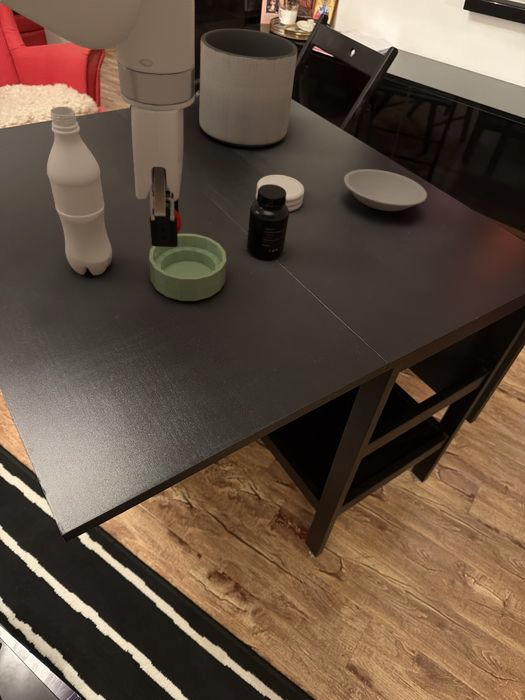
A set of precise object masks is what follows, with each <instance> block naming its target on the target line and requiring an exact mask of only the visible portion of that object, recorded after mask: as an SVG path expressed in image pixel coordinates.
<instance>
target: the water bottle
mask: <svg viewBox="0 0 525 700" xmlns="http://www.w3.org/2000/svg"><path fill="white" fill-rule="evenodd" d="M50 116H51V117H50V118H51V131H52V132H53V136H54V137H53V144H52V147H51V150H50V152H49V155H48V159H47V164H46V173H47V178H48V179H49V183H50V184H49V185H50V188H51V193H52V197H53V201H54V208H55V210H56V212H57V214H58V217H59V219H60V223H61V226H62V230H63V236H64V252H65V257H66V260H67V262H68V265H70V267H71V268H72V269H73V271H75V272H76V273H77V274H78V275H82V276H83V275H85V274H86V273H87V271H89V272H90V273H91V275H92V276H99V275H102V274H103V273H104V272H105V271H106V270H107V267H110V265H111V263H112V260H113V248H112V244H111V242H110V239H109V235H108V233H107V229H106V224H105V223H106V222H105V204H106V203H105V201H104V200H105V199H104V193H103V186H102V180H101V168H100V165H99V162H98V161H97V159H96V157H95V156H94V154H92V152H91V151H90V149H89V148H88V147H87V145H86V144H85V142H84V141H83V139H82V137H81V135H80V131H81V128H80V125H79V122H78V121H77V115H76V112H75V109H73V108H72V107H70V106H55V107H53V108H51V109H50Z"/></svg>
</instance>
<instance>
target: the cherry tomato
mask: <svg viewBox="0 0 525 700" xmlns="http://www.w3.org/2000/svg"><path fill="white" fill-rule="evenodd" d="M166 207H169V210H170V206H169V204H168V203H166ZM174 210H175V209H174ZM175 217H177V234H179V233H180V231H181V228H182V218H181V215H180V213H178V212H177V211H176V210H175ZM148 221H149V224H150V219H149V220H148Z"/></svg>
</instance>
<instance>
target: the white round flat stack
mask: <svg viewBox="0 0 525 700" xmlns="http://www.w3.org/2000/svg"><path fill="white" fill-rule="evenodd" d="M266 184H273V185H277V186H280V187H282V188H283V189H285V191H286V203H285V204H286V206H287V207H288V209H289V213H290V212H294V211H296V210H298V209H300V208H301V206H302V205H303V200H304V194H305V187H304V185H303V184H302V182H300V181H299V180H297V179H296V178H293V177H291V176H288V175H283V174H269V175H265V176H263V177H261V178H260V179H259V180H258V181H257V184H256V190H255V191H256V193H255V201H256V200H257V195H258V189H259V188H260V187H261V186H263V185H266Z"/></svg>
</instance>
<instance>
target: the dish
mask: <svg viewBox="0 0 525 700" xmlns="http://www.w3.org/2000/svg"><path fill="white" fill-rule="evenodd" d="M343 183H344V185H345V187H346V188H347V189H348V190H349V191H350V192H351V194H352V195H353V196H354V197H355V198H356V199H357V200H358V201H359V202H360V203H362V204H363V205H365V206H366V207H369V208H372V209H375V210H379V211H384V212H398V211H404V210H406V209H409V208H411V207H414V206H417V205H420V204H422V203H423V202H425V201H426V199H427V198H428V193H427V191H426V189H425V188H424V187H423V186H422V185H421V184H419V182H417V181H415V180H414V179H411V178H409V177H407V176H404V175H401V174H400V173H399V174H398V173H395V172H392V171H388V170H386V171H385V170H380V169H373V168H372V169H371V168H369V169H367V168H366V169H365V168H364V169H356V170H351V171H350V172H347V173H346V174H345V175H344V177H343Z"/></svg>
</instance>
